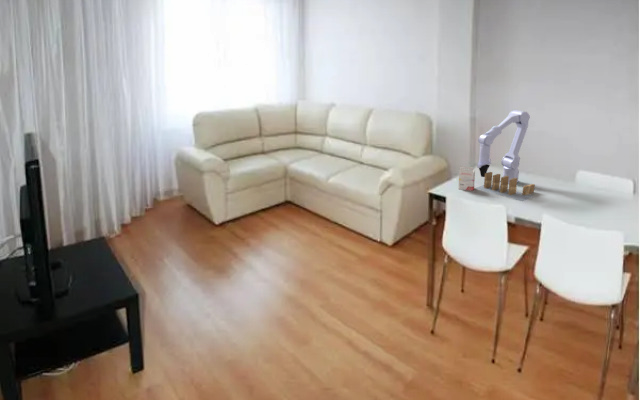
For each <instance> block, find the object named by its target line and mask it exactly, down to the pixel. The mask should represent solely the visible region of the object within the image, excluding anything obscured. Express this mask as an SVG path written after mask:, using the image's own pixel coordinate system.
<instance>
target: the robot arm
mask: <svg viewBox="0 0 640 400" xmlns="http://www.w3.org/2000/svg"><path fill="white" fill-rule="evenodd" d="M529 121H530V114H529V112H528V111H522V110H519V109H512V110H511V111H510V112H509V113H508V115H507V116H506V117H505V118H504V119H503V120H502V121H501V122H500V123H499V124H498V125H494V126H492V127H491V128H490V129H489V130H488V131H486V132H485V133H483V134H481V135H480V136H479V137H478V143H479V155H478V156H479V157H478V159H479V160H478V162H477V165H476V168H477V169H478V170H479V173H480V177H481V178H485V173H488V169H489V168H490V165H491V164H492V162H491V161H492V160H491V158H490V156H491V145H492V144H493V143H494V140H495V139H496V138H497V137H499V136H500V135H501V134H502V131H503V130H504V129H506V128H507V127H508V126H509V125H511V124H512V123H515V125H516V131H515V133H514V136H513V139H512V142H511V144H510V147H509V150H508V152H506V153H504V156H503V157H502V159H501V161H500V162H501V166H502V169H503V170H502V177H504V176H509V180H508V185H509V181H510V179H513V178H517V183H520V181H519V175H520V172H519V171H520V170H519V167H520V160H521V158H520V155H519V152H520V151H521V147H522V144H523V142H524V139H525V136H526V133H527V130H528V127H529ZM500 183H501V180H500Z"/></svg>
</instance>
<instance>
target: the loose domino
mask: <svg viewBox="0 0 640 400" xmlns="http://www.w3.org/2000/svg"><path fill="white" fill-rule="evenodd" d="M535 188H536V186H535V183H531V184H530V183H529V184H526V185H523V187H522V192H521V193H522V195H527V194H528V195H531V194H533V193H534V192H535Z"/></svg>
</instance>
